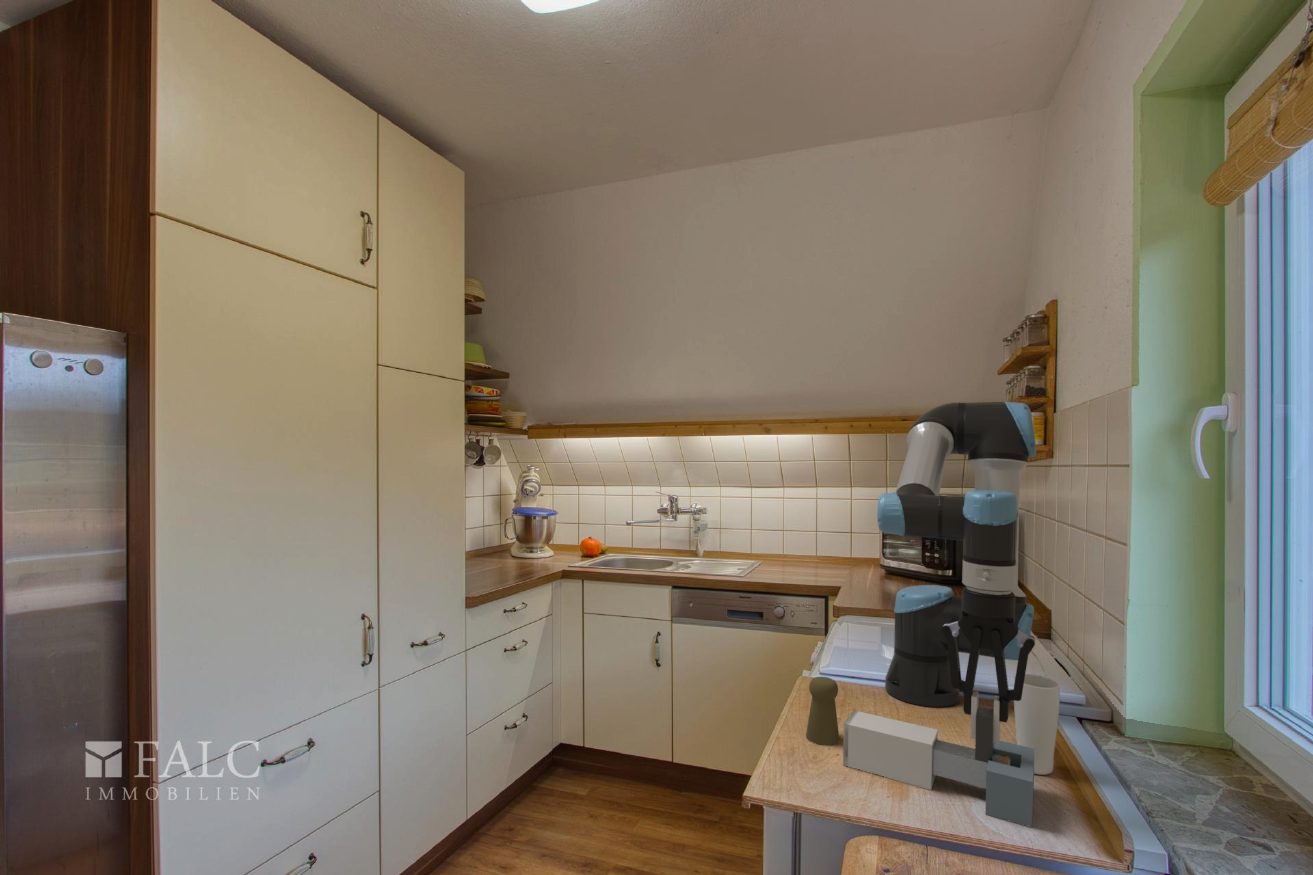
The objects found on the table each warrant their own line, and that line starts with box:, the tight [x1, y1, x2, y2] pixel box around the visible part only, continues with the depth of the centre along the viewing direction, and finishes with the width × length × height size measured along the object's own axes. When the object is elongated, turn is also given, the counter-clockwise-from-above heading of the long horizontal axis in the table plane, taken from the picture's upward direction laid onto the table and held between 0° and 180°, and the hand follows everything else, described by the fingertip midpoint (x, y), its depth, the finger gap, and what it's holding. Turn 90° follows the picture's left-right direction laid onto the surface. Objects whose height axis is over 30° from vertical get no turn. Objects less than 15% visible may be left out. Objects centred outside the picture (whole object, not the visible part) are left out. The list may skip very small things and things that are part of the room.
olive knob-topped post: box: [805, 676, 840, 746], centre depth 122 cm, size 6×6×11 cm
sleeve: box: [842, 709, 939, 791], centre depth 111 cm, size 6×14×7 cm, turn 59°
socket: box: [985, 740, 1035, 827], centre depth 101 cm, size 12×6×7 cm, turn 149°
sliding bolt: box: [932, 705, 1011, 789], centre depth 106 cm, size 4×18×11 cm, turn 59°
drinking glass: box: [1013, 673, 1061, 776], centre depth 112 cm, size 7×7×15 cm
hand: (985, 737), depth 103 cm, fingers closed on sliding bolt, 2 cm apart
